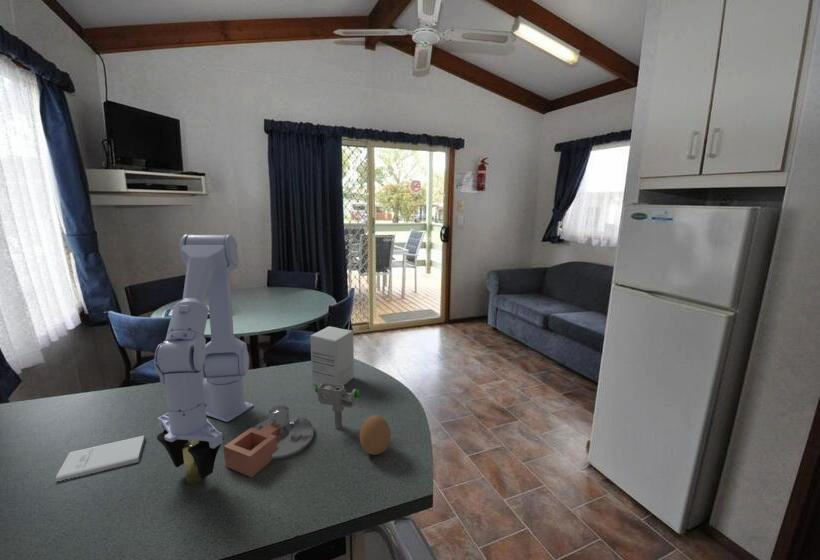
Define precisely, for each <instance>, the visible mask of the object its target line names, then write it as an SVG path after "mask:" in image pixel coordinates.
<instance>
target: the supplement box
mask: <svg viewBox="0 0 820 560" xmlns="http://www.w3.org/2000/svg"><path fill="white" fill-rule="evenodd" d="M309 336H310V337H309V338H310V360H311V361H310V362H311V384H312V385H314V386H317V385H319V386H320V385H321V384H322V383H329V384H337V385H343V386H344V387H345V385H347V384H348V383H349V382H351V381H352V380H353V379H354V377H355V366H354V363H355V362H354V361H355V360H354V359H355V358H354V357H355V356H354V354H355V353H354V351H355V350H354V330H353V329H352V330H351V329H347V328H346V329H345V328H339V327H335V326H326V327H325V328H323V329H320V330H319V331H317V332H315V333H313V334H311V335H309ZM332 388H333V387H332Z"/></svg>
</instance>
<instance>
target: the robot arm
mask: <svg viewBox="0 0 820 560" xmlns="http://www.w3.org/2000/svg"><path fill="white" fill-rule="evenodd" d="M179 255H180V257H181V259H182V262H183V265H184V266H185V268H186V270H185V272H186V273H185V278H184V284H183V285H184V286H183V287H184V288H183V292H182V293H183V294H182V300H180V301H177V303H175V304H174V305H173V308H172V313H171V316H170V319H169V320H170V321H169V324H168V328H167V332H166V337H165V340H164V341H163V342H161V343H160V344H158V345H157V347H156V349H155V351H154V352H155V353H154V363H153V365H154V369H155V371H156V373H157V375H158V376H159V382H160V383H161V385H164V390H165V398H166V405H167V406H166V408H167V412H166V413H164V414H163V415H161V416H159V417H157V425H158V428H160V429H164V430H163V431H162V432H160V433H159V434H158V435H157V436H156V440H157V441H158V442H159V443H160V444H161V445H162V446H163V447H164V448H165V450H166V451H167V453H168V455H169V457H170V459H171V461H172V463H173V465H174V467H175V468H179V467H180V466H182V465H183V464H184V458H183V450H182V447H183V445H184V444H185V443H187V442H189V441H194V440H197V441H199V443H198V444H196V445H195V446H193V447H191V448H190V449H188V452H189V453H190V454H191V455H192V456H193V458H194V460H195V462H196V465H197V469H198V473H199V476H200V478H202V479H203V480H204V479H205V478H207V477H208V476H210V475H211V474H212V473H213V472H214V467H215V462H216V457H217V454H218V452H219V450H220V447H221V445H222V444H223V443H224V439H225V438H224V435H223V432H221V431H219V430H217V428H216V427H215V426H214V425H213V424H212V423H211V421H210V420H209V419H208V417H211V418H213V419H217V420H220V421H222V422H225V423H229V422H230V421H232V420H233V419H235V418H237V417H239V415H242V414H244V413H245V412H247V411H248V410H249V409H251V408H252V407H254V404H253V403H251V402H247V401H245V388H244V387H245V386H244V376H246V375H247V373H248V372H249V368H250V355H249V352H248V345H247V342H244V341H243V340H240V339H239V338H237V337H235V335H234V334H235V333H234V320H233V319H234V318H233V305H232V289H231V272H232V271H234V270H236V269H238V264H239V259H238V258H239V256H238V255H239V254H238V245H237V241H236V238H235V236H233V235H232V234H230V233H229V234H228V233H227V234H190V233H185V234H183V236H182V237H181V239H180V242H179ZM207 297H208V298H207ZM206 298H207V299H208V307H207V305H206V304H205V301H206ZM208 316H209V327H210V341H208V342H207V339H206V338H205V337H204V336H205V331H206V325H207V322H208ZM206 342H207V343H206ZM207 416H208V417H207ZM202 479H201V480H202Z"/></svg>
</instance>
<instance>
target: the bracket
mask: <svg viewBox="0 0 820 560" xmlns="http://www.w3.org/2000/svg"><path fill="white" fill-rule="evenodd" d="M280 439H281V434H280V427H274V426H272V425H270V423H269V424H267V425H266V426H265V427H263V428H262V429H260V430H258V429H255V428H253V427H252V426H251V427H250V428H248V429H246V430H245V431H244V432H242V433H240V434H239V435H237V436H236V438H234V439H232V440H231V441H229V442H228V443H226V444H225V445H223V451H224V462H225V467H226V468H228V469H230V470H233V471H236V472H238V473H240V474H243V475H246V476H247V477H251V478H253V477H254V476H256V474H258V473H259V472H260V471H261V470H262V469H263V468H265V467H266V466H267V465H268V464H269V463H271V461H273V460H272V454H273V453H275V452H276V451H277V442H278V441H279V440H280Z"/></svg>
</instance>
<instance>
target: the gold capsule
mask: <svg viewBox="0 0 820 560" xmlns="http://www.w3.org/2000/svg"><path fill="white" fill-rule="evenodd" d="M198 443H199V441H197V440H188V442H187V443H185V444H184V445H183V447H182V450H183V458H184V466H183V467H184V473H185V482H186V483H187V484H196V483H198V482H200V481H202V478H200V476H199V473H198V469H197V465H196V462H195V460H194V458H193V456H192V455H191V454H190V453H189V452H188V449H190V448H191V447H193V446H195V445H196V444H198Z"/></svg>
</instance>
